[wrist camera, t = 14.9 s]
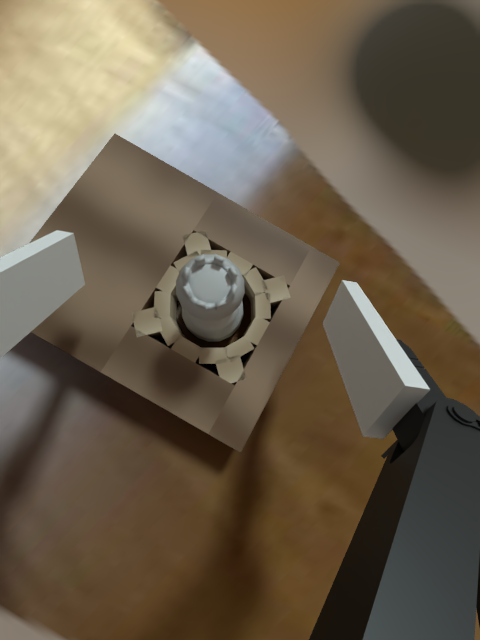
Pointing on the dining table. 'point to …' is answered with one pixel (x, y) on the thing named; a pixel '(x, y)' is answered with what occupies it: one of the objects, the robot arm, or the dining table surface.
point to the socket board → (160, 289)
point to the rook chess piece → (211, 297)
